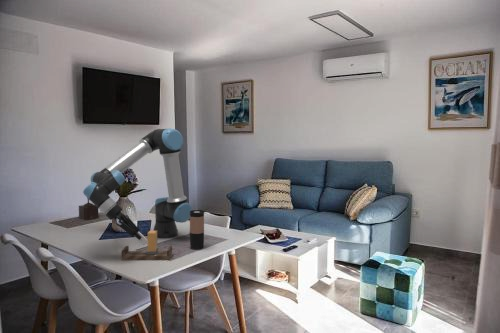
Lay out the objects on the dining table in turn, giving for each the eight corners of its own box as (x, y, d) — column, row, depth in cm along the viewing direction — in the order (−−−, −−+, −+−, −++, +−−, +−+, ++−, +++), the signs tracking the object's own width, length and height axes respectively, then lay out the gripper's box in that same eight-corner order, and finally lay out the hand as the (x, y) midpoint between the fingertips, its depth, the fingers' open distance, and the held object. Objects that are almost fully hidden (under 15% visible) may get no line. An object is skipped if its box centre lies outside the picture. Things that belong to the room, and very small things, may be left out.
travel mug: (190, 245, 201) (190, 209, 199) (204, 245, 201) (204, 209, 200) (189, 249, 193) (189, 212, 191) (203, 249, 194) (203, 212, 192)
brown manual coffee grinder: (85, 220, 258) (84, 195, 257) (78, 218, 266) (77, 193, 264) (106, 217, 270) (105, 193, 268) (99, 215, 277) (98, 191, 276)
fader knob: (146, 254, 177) (146, 233, 176) (149, 250, 183) (149, 230, 182) (155, 254, 177) (155, 233, 177) (158, 250, 183) (158, 230, 183)
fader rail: (121, 260, 176) (121, 251, 175) (126, 254, 184) (126, 246, 183) (169, 259, 177) (169, 250, 177) (172, 254, 185) (172, 245, 185)
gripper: (110, 211, 184) (143, 244, 186) (100, 217, 171) (137, 252, 173) (120, 201, 184) (154, 233, 186) (112, 206, 171) (148, 241, 173)
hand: (146, 242), depth 179 cm, fingers closed
